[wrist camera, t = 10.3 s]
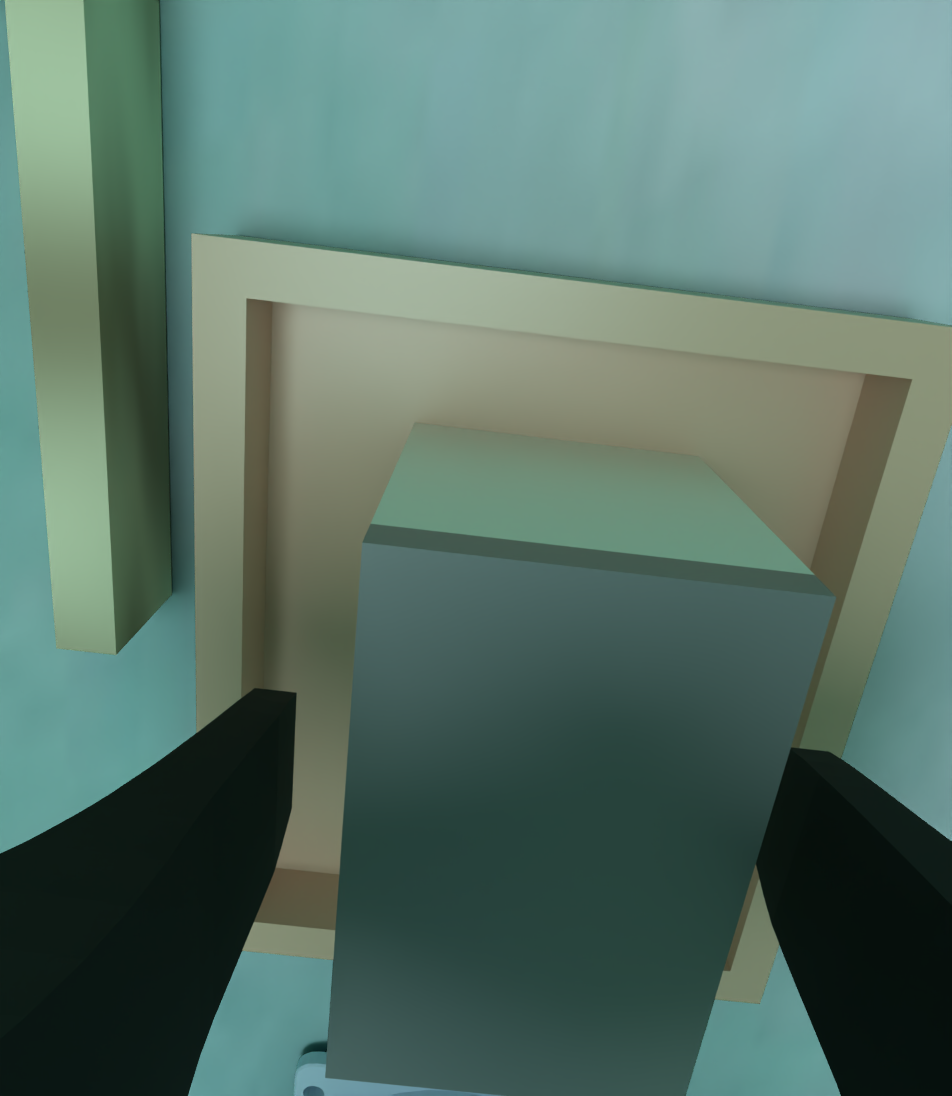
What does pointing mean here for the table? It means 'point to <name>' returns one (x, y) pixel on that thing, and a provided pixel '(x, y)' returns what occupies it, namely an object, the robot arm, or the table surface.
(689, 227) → the table surface
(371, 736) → the grey-green upright block
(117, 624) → the bay
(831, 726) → the tray
